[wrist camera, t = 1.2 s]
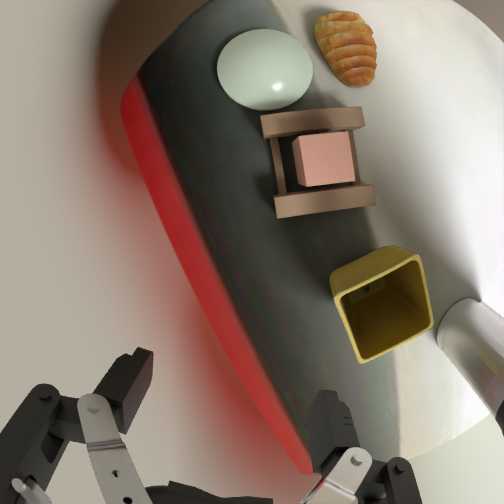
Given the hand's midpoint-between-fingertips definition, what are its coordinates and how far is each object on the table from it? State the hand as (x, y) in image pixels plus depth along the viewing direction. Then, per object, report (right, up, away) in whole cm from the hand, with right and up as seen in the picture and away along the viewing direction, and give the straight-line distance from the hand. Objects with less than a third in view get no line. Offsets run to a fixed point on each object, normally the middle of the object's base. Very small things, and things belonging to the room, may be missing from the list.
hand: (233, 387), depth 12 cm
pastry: (+12, +29, +13) cm, 34 cm away
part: (+8, +16, +16) cm, 24 cm away
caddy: (+8, +16, +16) cm, 24 cm away
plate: (+2, +26, +14) cm, 29 cm away
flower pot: (+14, +3, +20) cm, 24 cm away
